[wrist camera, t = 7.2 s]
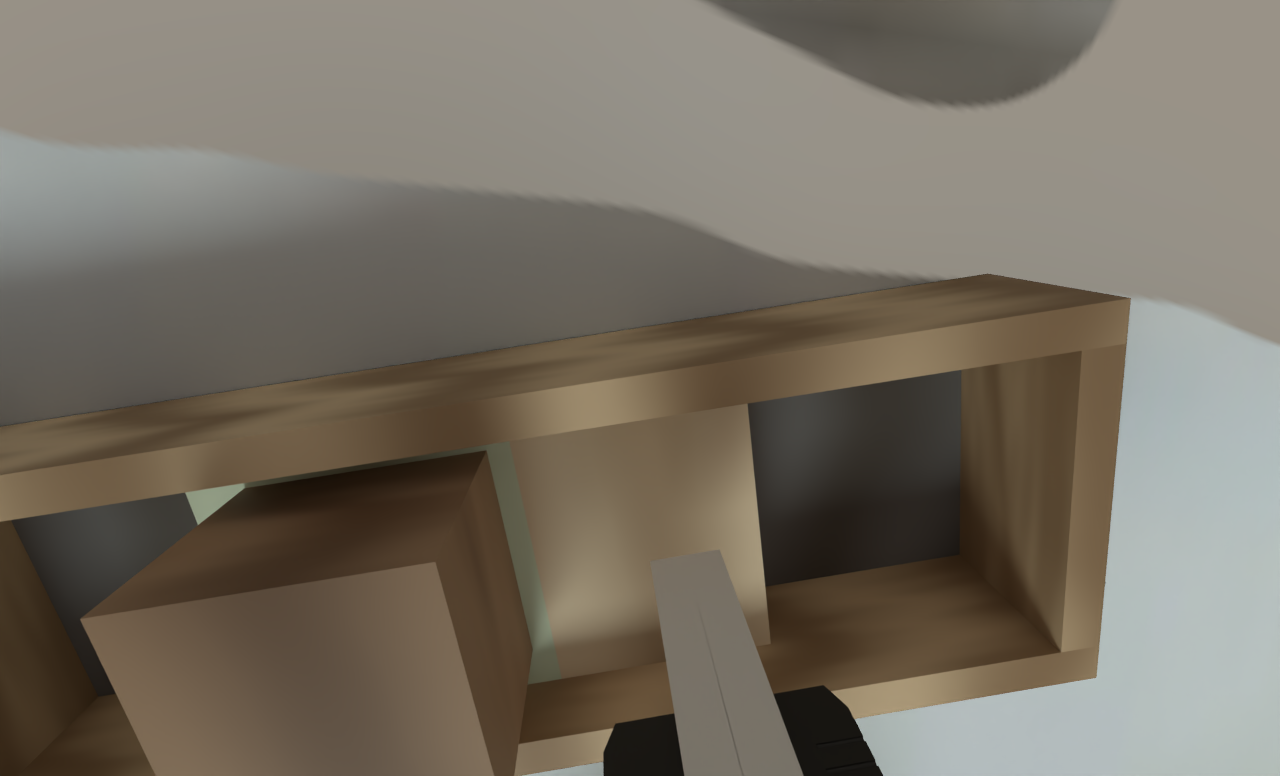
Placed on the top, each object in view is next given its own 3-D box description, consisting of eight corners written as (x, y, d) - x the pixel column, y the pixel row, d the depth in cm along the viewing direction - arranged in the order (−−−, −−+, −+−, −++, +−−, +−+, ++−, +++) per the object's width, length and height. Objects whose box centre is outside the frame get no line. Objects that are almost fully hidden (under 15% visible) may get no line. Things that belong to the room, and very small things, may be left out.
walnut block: (316, 684, 17) (203, 874, 12) (244, 488, 15) (80, 618, 10) (532, 649, 17) (507, 823, 12) (486, 450, 15) (435, 561, 10)
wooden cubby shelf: (89, 716, 20) (-70, 875, 15) (-54, 434, 17) (-305, 522, 12) (981, 569, 21) (1096, 677, 16) (988, 273, 18) (1130, 298, 13)
